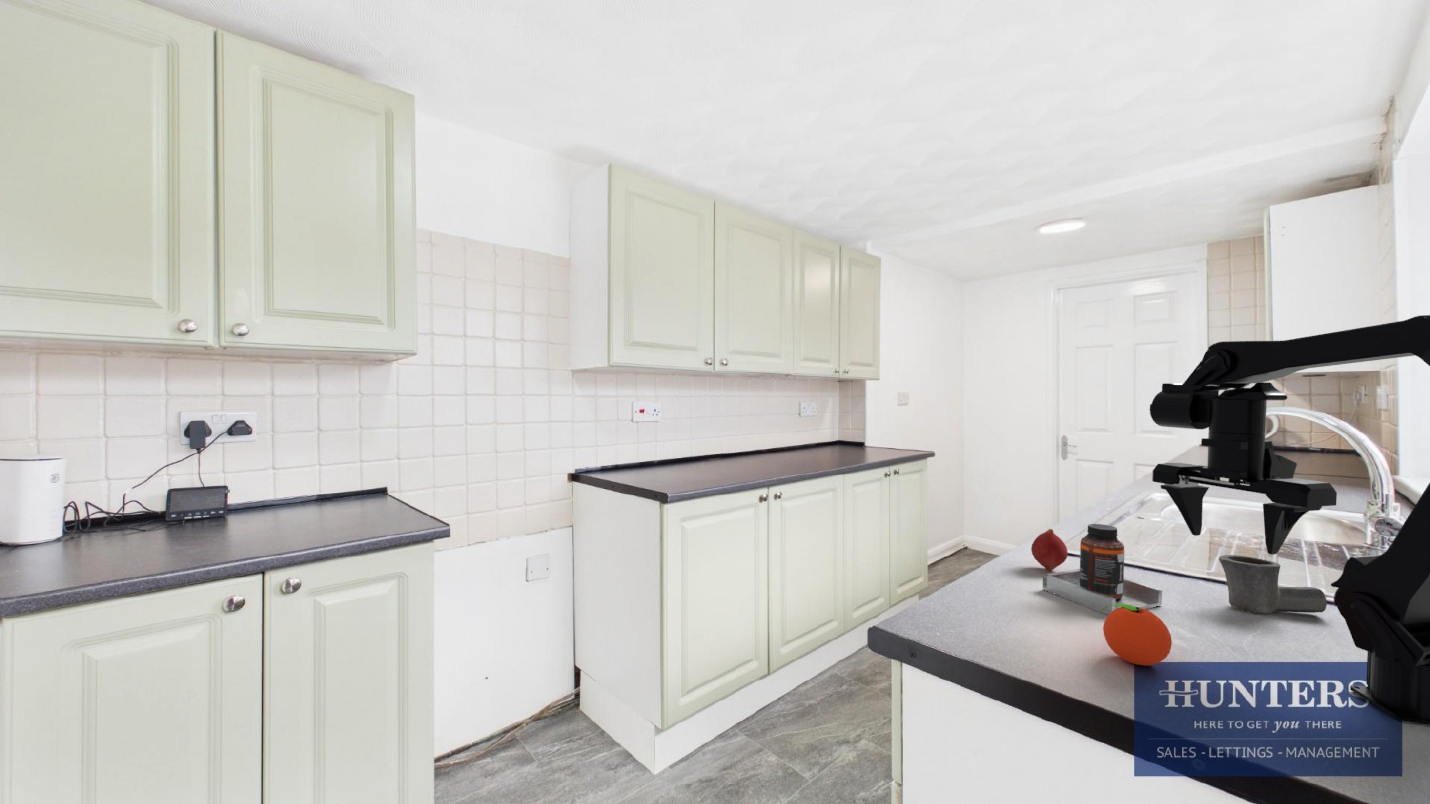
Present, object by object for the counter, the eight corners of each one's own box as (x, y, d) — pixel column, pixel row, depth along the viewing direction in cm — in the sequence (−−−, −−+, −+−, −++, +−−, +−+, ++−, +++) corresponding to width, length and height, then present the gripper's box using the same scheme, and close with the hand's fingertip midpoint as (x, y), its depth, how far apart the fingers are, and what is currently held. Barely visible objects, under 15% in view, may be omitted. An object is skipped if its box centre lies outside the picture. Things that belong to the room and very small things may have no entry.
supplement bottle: (1132, 601, 88) (1134, 531, 88) (1095, 601, 88) (1096, 531, 88) (1106, 587, 94) (1108, 522, 94) (1071, 587, 94) (1072, 521, 94)
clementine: (1081, 651, 73) (1083, 598, 73) (1114, 642, 76) (1116, 590, 75) (1150, 681, 66) (1151, 622, 65) (1183, 669, 68) (1185, 612, 68)
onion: (1024, 567, 106) (1025, 526, 106) (1043, 563, 109) (1045, 523, 108) (1053, 577, 101) (1054, 533, 101) (1073, 572, 104) (1074, 530, 103)
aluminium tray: (1161, 606, 88) (1162, 590, 88) (1111, 616, 84) (1112, 599, 84) (1089, 581, 99) (1090, 567, 99) (1042, 589, 95) (1042, 574, 95)
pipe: (1334, 623, 82) (1337, 570, 82) (1232, 615, 85) (1234, 563, 84) (1301, 607, 88) (1303, 557, 87) (1207, 600, 91) (1208, 551, 90)
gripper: (1369, 438, 69) (1364, 560, 70) (1205, 426, 88) (1202, 524, 88) (1306, 439, 67) (1301, 567, 67) (1151, 427, 85) (1147, 528, 85)
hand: (1232, 544), depth 77 cm, fingers open, 9 cm apart
